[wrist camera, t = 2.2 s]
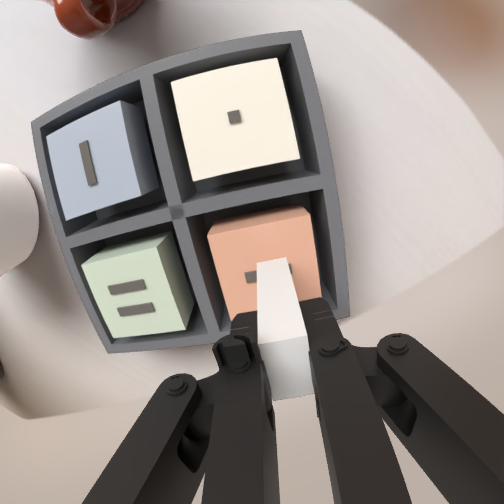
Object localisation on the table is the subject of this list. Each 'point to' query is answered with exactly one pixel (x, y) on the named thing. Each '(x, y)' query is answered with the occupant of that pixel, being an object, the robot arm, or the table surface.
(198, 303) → the grey compartment tray
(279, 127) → the cream key
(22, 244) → the cup
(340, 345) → the robot arm
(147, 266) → the sage key
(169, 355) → the table surface
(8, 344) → the table surface
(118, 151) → the slate key
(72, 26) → the mug
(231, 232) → the terracotta key
